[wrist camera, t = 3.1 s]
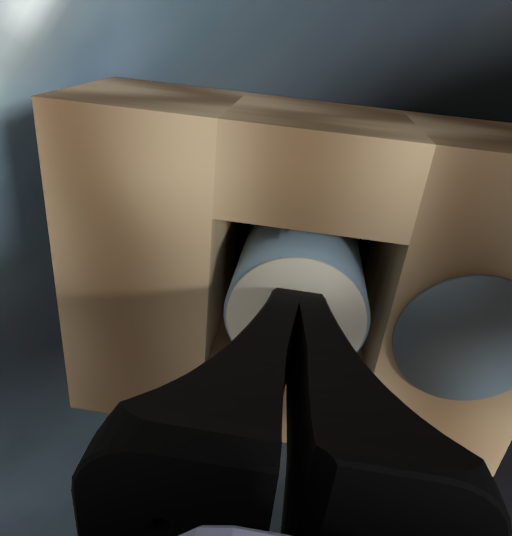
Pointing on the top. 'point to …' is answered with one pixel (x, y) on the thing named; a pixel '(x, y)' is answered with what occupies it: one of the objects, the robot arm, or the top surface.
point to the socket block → (280, 216)
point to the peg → (299, 277)
